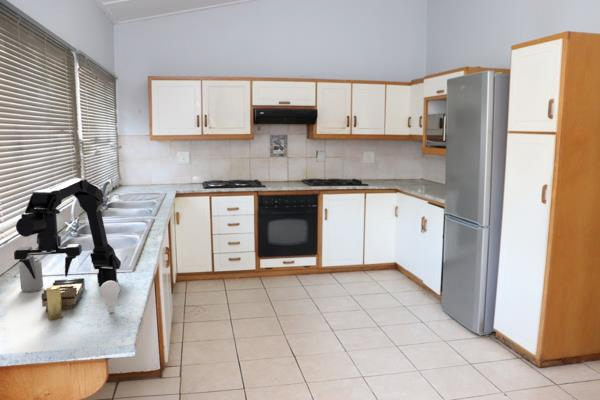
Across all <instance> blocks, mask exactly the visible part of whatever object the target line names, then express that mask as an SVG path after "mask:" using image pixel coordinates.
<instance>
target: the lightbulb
mask: <svg viewBox="0 0 600 400" xmlns="http://www.w3.org/2000/svg"><path fill="white" fill-rule="evenodd" d="M120 290H121V288H120V284H118V282H117V283H116V282H115V281H106V282H104V283H103V284H102V286H100V288H99V293H100V295H101V296H102V298H103V299H104V303H105V306H106V311H107V312H108V313H110V314H113V313H114V312H115V311H116V304H117V298H118V296H119V294H120Z"/></svg>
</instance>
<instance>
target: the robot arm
mask: <svg viewBox="0 0 600 400" xmlns="http://www.w3.org/2000/svg"><path fill="white" fill-rule="evenodd" d="M71 196H74V198H75V199H77V200H78V204H79V206H80V208H81V209H82V210H83V211H84V212H85V213H86V216H87V222H88V226H89V230H90V234H91V238H92V239H91V240H92V243H93V249H92V252H90V254H89V257H90V260H91V262H90V263H92V266H93V270H98V271H97V274H96V275H97V276H96V277H97V284H98V287H101V286H102V284H103V283H104V282H106V281H115V282H116V283H118V281H119V279H118V273H117V270H120V268H121V264H122V261H121V260H120V259H119V257H118V256H117V255H116V252H115V250H114V248H113V247H112V246H111V245H110V244H109V242H108V239H107V234H106V233H107V232H106V228H105V224H104V220H103V219H104V218H103V215H102V210H101V209H102V207H103V204H104V193H103V191H102V189H100V188H99V187H98V186H96V185H94V184H92V183H90V182H89V181H88V180H87V179H85V178H71V179H70V180H69V181H66V182H64V183H62V184H60V185H57V186H55V187H53V188H46V189H45V188H44V189H36V190H34V191H33V192H32V193H31V195H30V199H28V200H29V201H28V204H27V206H26V208H25V211H24V212H23V213H21V217H20V218H19V219H18V220H17V222H16V224H15V229H16V231H17V233H18V235H20V236H22V237H25V238H27V237H31V236H33V235H36V244H37V245H38V248H32V246H30V245H29V246H20V247H18V248H17V249H16V250H15V251H14V252H13V259H14V260H17V261H18V262H19V263H20V262H23V263H24V265H25V266H26V267H27V268H28V270H29V272H30V273H31V275H32V277H33V278H34V279H36V272H35V266H34V257H35V256H42V255H43V256H44V255H57V254H58V255H60V254H65V255H66V256H65V258H64V276H65V278H67V277H68V275H69V271H70V267H71V264H72V262H73V259H76V258H77V257H79V256H81V254H82V252H83V248H82V244H81V243H71V244H69V243H68V244H67V246H66V247H62V237H61V235H59V232H58V222H57V221H58V220H57V219H58V218H57V215H59V214H61V211H60V210H59V209H58V207H59V206H60V205H62V203H63V200H65V199H67V198H69V197H71Z"/></svg>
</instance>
